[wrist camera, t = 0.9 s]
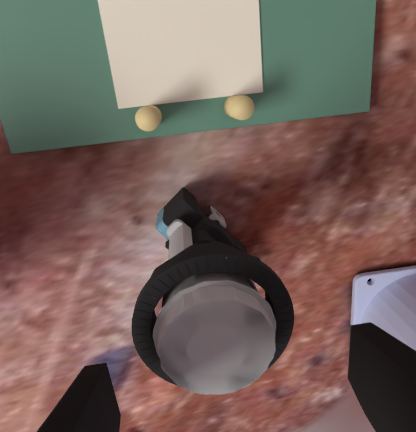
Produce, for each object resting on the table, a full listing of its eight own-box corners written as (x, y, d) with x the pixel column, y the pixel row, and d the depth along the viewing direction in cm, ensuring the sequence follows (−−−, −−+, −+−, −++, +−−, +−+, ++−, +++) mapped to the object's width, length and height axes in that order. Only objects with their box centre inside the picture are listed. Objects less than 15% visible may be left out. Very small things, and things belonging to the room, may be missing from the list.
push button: (276, 237, 20) (364, 362, 10) (214, 295, 21) (245, 456, 11) (196, 163, 18) (217, 233, 9) (133, 230, 19) (88, 359, 10)
